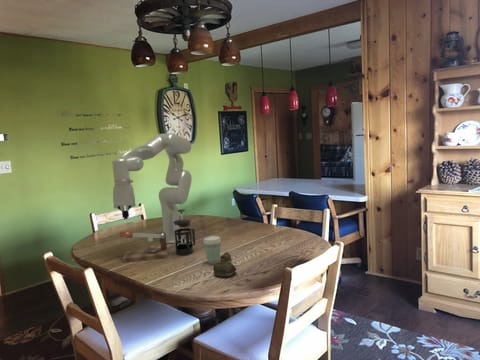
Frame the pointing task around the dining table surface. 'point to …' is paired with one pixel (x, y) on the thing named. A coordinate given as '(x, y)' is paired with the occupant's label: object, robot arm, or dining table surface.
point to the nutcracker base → (148, 253)
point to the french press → (184, 244)
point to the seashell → (224, 266)
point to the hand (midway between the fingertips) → (125, 218)
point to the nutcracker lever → (142, 235)
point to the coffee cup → (212, 249)
